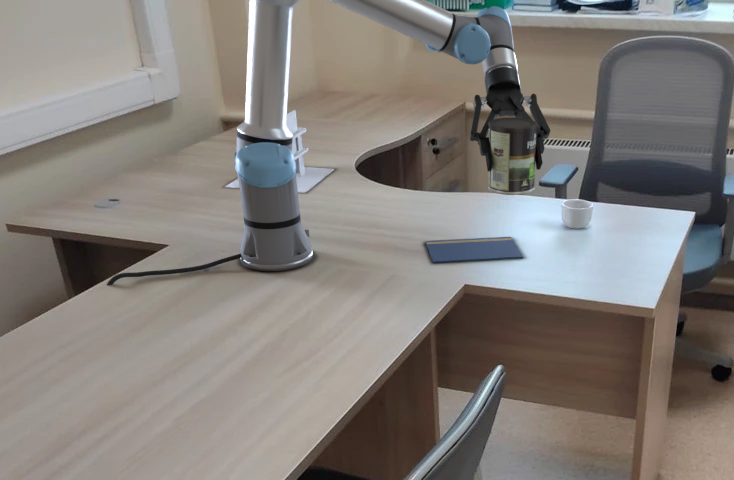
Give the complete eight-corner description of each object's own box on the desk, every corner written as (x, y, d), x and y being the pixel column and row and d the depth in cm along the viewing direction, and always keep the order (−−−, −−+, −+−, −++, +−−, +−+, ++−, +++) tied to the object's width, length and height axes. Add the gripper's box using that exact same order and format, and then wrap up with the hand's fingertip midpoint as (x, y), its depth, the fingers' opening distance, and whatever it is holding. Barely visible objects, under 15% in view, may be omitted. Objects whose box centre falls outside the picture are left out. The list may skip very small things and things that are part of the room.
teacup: (592, 231, 202) (594, 209, 200) (560, 230, 202) (561, 208, 200) (589, 218, 211) (591, 197, 208) (559, 217, 211) (560, 196, 208)
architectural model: (335, 169, 244) (329, 104, 235) (305, 192, 223) (298, 123, 214) (260, 164, 247) (252, 100, 238) (224, 187, 226) (214, 118, 217)
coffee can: (538, 183, 188) (541, 118, 180) (530, 197, 179) (532, 129, 172) (493, 180, 189) (494, 115, 182) (483, 193, 181) (483, 126, 173)
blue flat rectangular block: (433, 263, 182) (433, 261, 182) (425, 242, 193) (425, 240, 193) (523, 258, 186) (523, 256, 186) (510, 238, 197) (510, 236, 197)
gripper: (547, 85, 190) (562, 174, 185) (448, 87, 185) (460, 178, 180) (554, 64, 183) (570, 156, 177) (451, 65, 178) (464, 159, 173)
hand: (515, 167), depth 179 cm, fingers closed on coffee can, 10 cm apart
